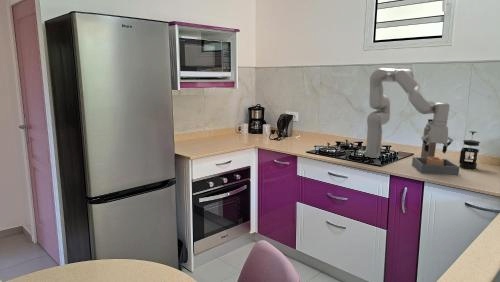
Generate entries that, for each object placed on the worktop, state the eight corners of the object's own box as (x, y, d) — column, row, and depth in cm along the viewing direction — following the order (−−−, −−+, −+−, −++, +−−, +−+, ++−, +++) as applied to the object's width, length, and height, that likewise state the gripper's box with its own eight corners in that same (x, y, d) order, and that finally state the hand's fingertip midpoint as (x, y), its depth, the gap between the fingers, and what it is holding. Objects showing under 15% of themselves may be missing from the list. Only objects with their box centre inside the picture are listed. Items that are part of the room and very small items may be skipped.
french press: (468, 165, 227) (473, 130, 223) (481, 169, 218) (486, 132, 214) (453, 166, 224) (458, 130, 220) (465, 170, 215) (471, 132, 211)
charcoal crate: (421, 173, 205) (422, 164, 204) (411, 164, 225) (412, 157, 224) (458, 175, 202) (459, 167, 201) (445, 167, 221) (446, 159, 220)
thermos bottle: (436, 162, 233) (441, 120, 228) (426, 162, 231) (431, 120, 226) (427, 159, 241) (432, 118, 236) (417, 159, 239) (422, 118, 234)
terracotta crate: (430, 169, 209) (431, 160, 208) (425, 166, 218) (427, 156, 217) (442, 170, 208) (443, 160, 207) (437, 166, 217) (438, 157, 216)
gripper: (425, 123, 206) (421, 152, 210) (457, 125, 203) (453, 154, 207) (422, 121, 213) (418, 149, 217) (453, 124, 210) (448, 151, 214)
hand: (435, 152), depth 212 cm, fingers open, 9 cm apart
